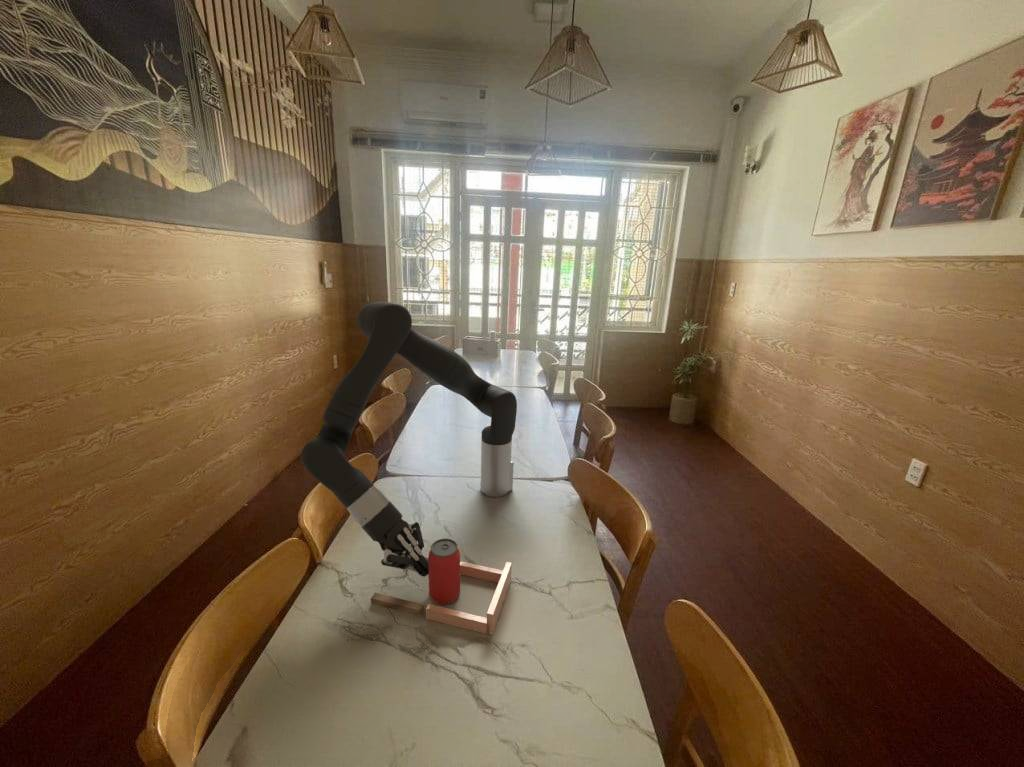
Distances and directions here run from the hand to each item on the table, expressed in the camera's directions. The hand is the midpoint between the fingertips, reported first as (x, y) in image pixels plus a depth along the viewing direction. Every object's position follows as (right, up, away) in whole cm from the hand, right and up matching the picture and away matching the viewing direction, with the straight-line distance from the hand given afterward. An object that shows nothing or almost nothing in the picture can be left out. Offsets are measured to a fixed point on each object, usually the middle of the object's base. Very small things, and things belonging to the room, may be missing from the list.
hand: (428, 572), depth 88 cm
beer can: (+4, -5, 0) cm, 6 cm away
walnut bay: (-4, -4, +2) cm, 6 cm away
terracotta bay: (+9, -5, -1) cm, 10 cm away
